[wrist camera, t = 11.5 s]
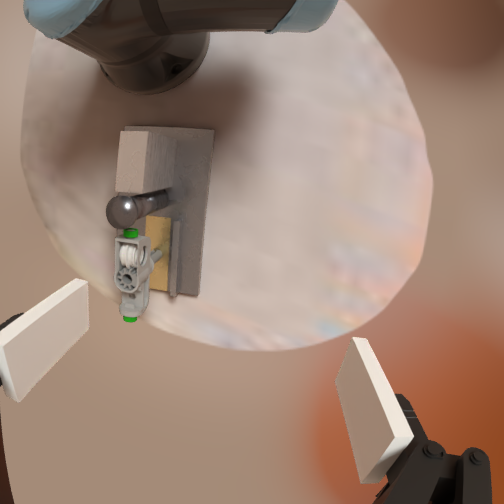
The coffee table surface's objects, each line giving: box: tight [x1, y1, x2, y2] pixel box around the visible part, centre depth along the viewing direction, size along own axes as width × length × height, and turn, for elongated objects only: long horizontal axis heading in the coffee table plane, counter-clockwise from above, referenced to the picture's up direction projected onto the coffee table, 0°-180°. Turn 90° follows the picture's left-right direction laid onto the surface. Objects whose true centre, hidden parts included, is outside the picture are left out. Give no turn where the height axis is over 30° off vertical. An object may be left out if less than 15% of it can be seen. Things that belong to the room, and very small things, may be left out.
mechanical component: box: [114, 228, 162, 322], centre depth 36 cm, size 3×10×10 cm, turn 172°
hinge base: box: [106, 126, 215, 297], centre depth 34 cm, size 22×12×13 cm, turn 173°
